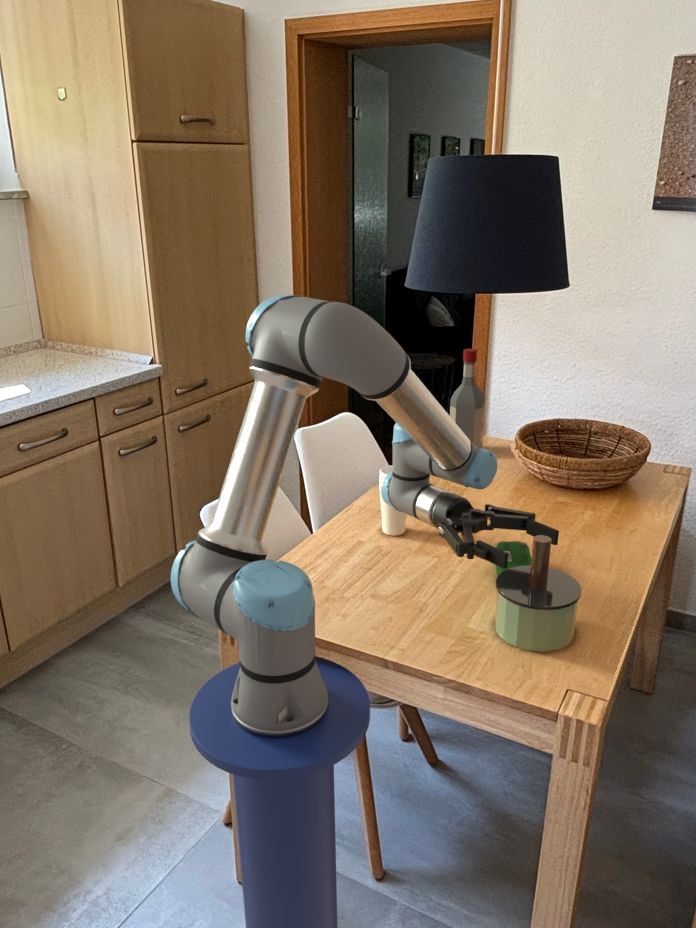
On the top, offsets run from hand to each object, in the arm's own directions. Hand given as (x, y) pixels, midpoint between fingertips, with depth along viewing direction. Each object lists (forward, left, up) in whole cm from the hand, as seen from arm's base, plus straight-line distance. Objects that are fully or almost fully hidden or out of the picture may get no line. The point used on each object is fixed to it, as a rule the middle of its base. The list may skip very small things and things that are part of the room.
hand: (532, 549), depth 133 cm
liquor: (-40, +83, -16) cm, 94 cm away
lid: (+2, -1, -7) cm, 7 cm away
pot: (+2, -1, -15) cm, 16 cm away
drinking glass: (-37, +25, -16) cm, 48 cm away
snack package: (-7, +17, -16) cm, 25 cm away
